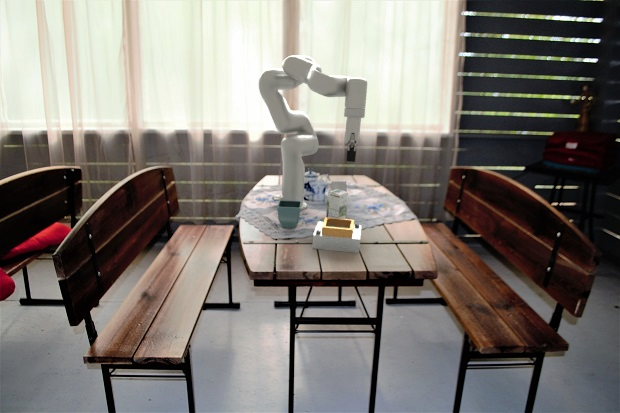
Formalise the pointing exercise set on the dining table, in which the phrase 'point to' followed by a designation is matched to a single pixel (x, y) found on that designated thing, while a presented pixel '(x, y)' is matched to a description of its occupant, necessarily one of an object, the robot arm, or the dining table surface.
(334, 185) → the grey block
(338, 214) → the syrup box
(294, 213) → the flower pot
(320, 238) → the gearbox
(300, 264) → the dining table surface
